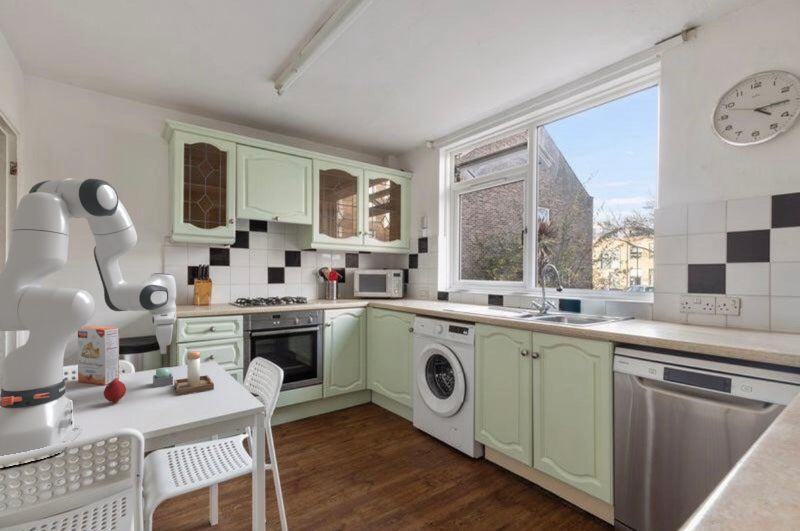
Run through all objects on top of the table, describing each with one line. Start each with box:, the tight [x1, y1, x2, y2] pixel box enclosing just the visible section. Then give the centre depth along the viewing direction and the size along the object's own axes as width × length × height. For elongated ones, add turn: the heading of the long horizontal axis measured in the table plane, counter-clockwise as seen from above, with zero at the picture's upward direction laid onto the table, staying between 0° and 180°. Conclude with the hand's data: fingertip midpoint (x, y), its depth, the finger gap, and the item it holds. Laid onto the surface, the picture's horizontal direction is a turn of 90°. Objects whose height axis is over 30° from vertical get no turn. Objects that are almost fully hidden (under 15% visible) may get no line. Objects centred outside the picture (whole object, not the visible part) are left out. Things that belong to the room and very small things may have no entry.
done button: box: [155, 367, 171, 379], centre depth 144 cm, size 4×4×4 cm
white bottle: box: [186, 350, 201, 387], centre depth 140 cm, size 4×4×12 cm
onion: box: [103, 378, 127, 404], centre depth 125 cm, size 6×6×8 cm
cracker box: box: [77, 325, 120, 386], centre depth 147 cm, size 14×6×21 cm, turn 73°
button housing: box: [152, 372, 174, 388], centre depth 144 cm, size 6×6×3 cm
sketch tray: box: [173, 374, 215, 396], centre depth 140 cm, size 13×11×2 cm
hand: (163, 353), depth 144 cm, fingers closed
